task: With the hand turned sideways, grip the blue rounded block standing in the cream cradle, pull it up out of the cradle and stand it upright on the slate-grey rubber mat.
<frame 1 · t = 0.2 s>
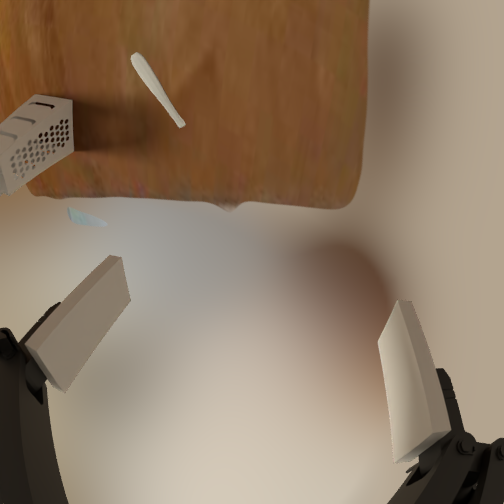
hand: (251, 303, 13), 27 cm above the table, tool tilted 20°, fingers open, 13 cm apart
grater: (54, 121, 37), on the table
white tapered rod: (186, 126, 36), on the table
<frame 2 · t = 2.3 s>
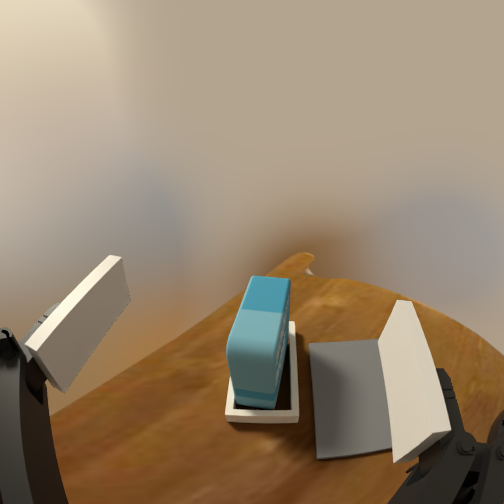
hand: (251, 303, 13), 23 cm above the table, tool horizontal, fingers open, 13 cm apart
mat: (359, 393, 30), on the table
blue rounded block: (264, 373, 34), resting in cradle
cradle: (264, 372, 34), on the table
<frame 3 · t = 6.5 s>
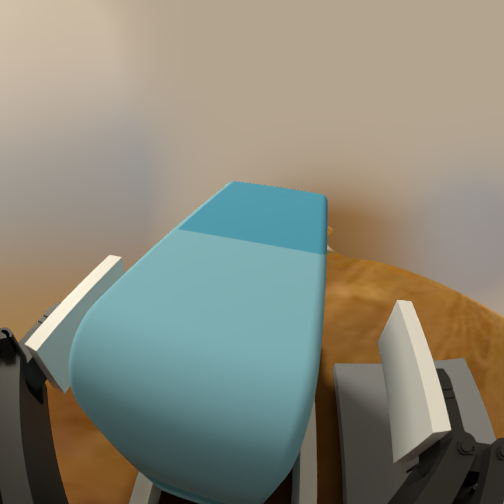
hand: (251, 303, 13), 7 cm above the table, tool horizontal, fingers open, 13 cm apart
mat: (431, 466, 10), on the table
blue rounded block: (237, 421, 14), resting in cradle
cradle: (237, 419, 14), on the table
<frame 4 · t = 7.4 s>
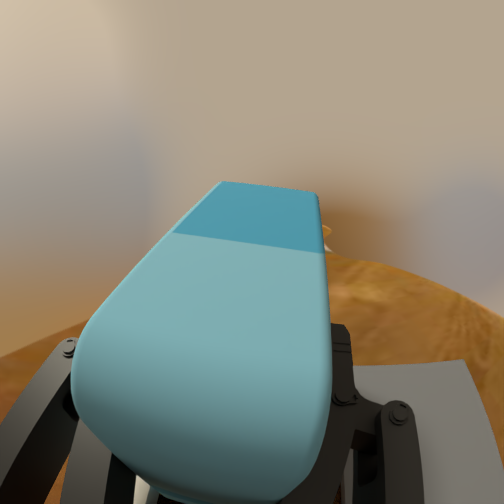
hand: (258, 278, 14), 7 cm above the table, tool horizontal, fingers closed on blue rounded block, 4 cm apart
mat: (430, 468, 10), on the table
blue rounded block: (235, 423, 14), resting in cradle, touching gripper
cradle: (235, 422, 14), on the table
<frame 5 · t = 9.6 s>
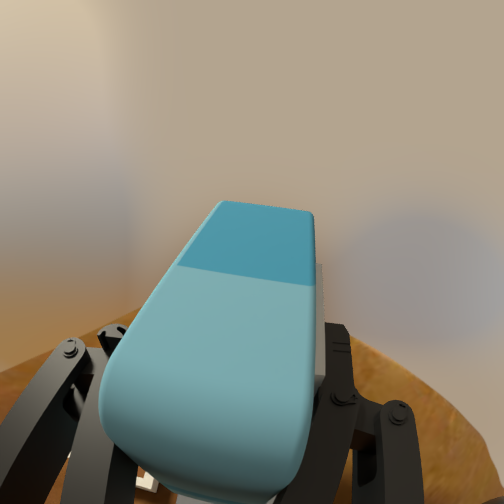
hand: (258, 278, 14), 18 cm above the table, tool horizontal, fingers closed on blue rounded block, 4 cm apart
blue rounded block: (236, 422, 15), point 9 cm above the table, touching gripper
cradle: (134, 416, 22), on the table
when the fingers open (9 cm above the table, at t = 11.7 s): blue rounded block stays where it is, resting on mat.
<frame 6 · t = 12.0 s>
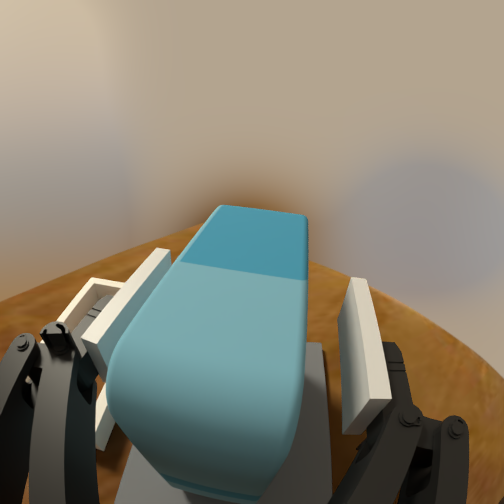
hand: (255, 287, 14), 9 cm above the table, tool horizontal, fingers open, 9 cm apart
mat: (234, 434, 15), on the table
blue rounded block: (234, 420, 16), resting on mat
cradle: (94, 355, 19), on the table
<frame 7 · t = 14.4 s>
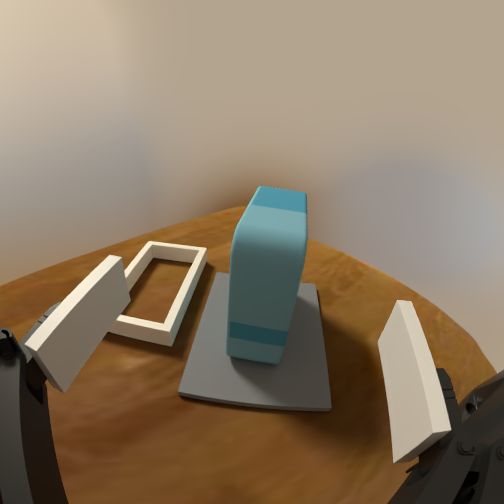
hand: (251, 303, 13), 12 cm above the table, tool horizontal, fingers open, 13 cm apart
mat: (261, 332, 27), on the table
blue rounded block: (261, 322, 27), resting on mat
cradle: (157, 291, 31), on the table
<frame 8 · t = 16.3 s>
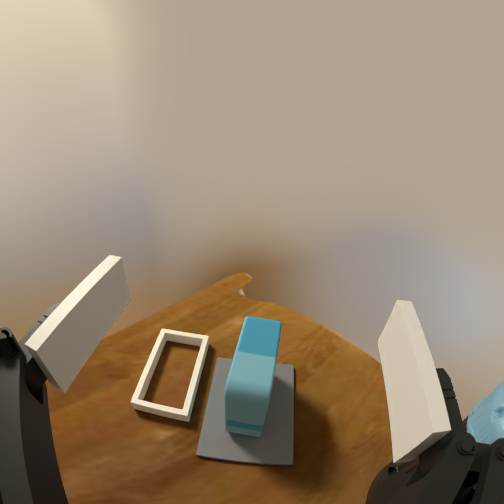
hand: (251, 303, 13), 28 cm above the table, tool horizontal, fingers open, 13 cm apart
mat: (250, 409, 35), on the table
blue rounded block: (250, 402, 36), resting on mat
cradle: (174, 375, 39), on the table
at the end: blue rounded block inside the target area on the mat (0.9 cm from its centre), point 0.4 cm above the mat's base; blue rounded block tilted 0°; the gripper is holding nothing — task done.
